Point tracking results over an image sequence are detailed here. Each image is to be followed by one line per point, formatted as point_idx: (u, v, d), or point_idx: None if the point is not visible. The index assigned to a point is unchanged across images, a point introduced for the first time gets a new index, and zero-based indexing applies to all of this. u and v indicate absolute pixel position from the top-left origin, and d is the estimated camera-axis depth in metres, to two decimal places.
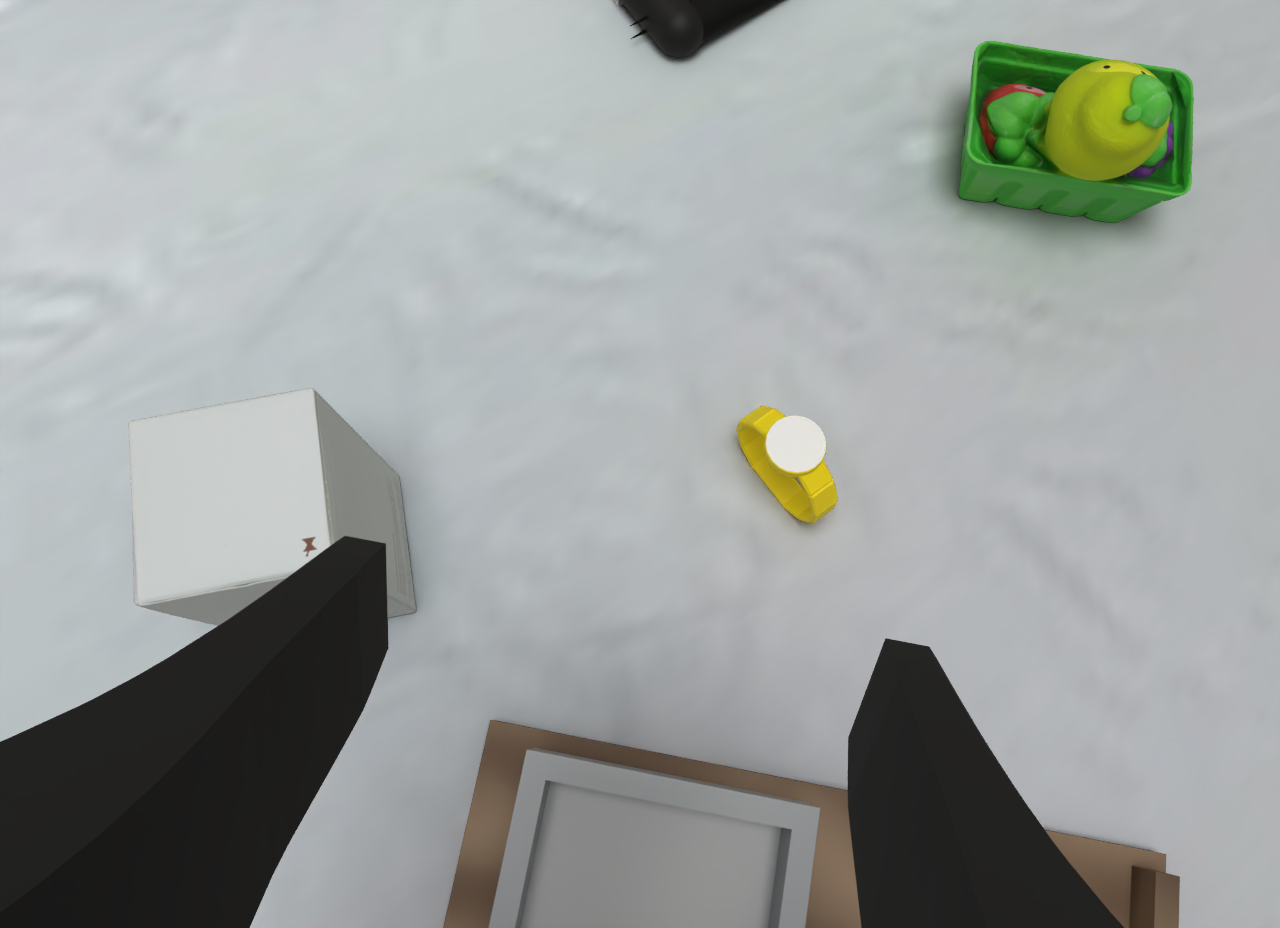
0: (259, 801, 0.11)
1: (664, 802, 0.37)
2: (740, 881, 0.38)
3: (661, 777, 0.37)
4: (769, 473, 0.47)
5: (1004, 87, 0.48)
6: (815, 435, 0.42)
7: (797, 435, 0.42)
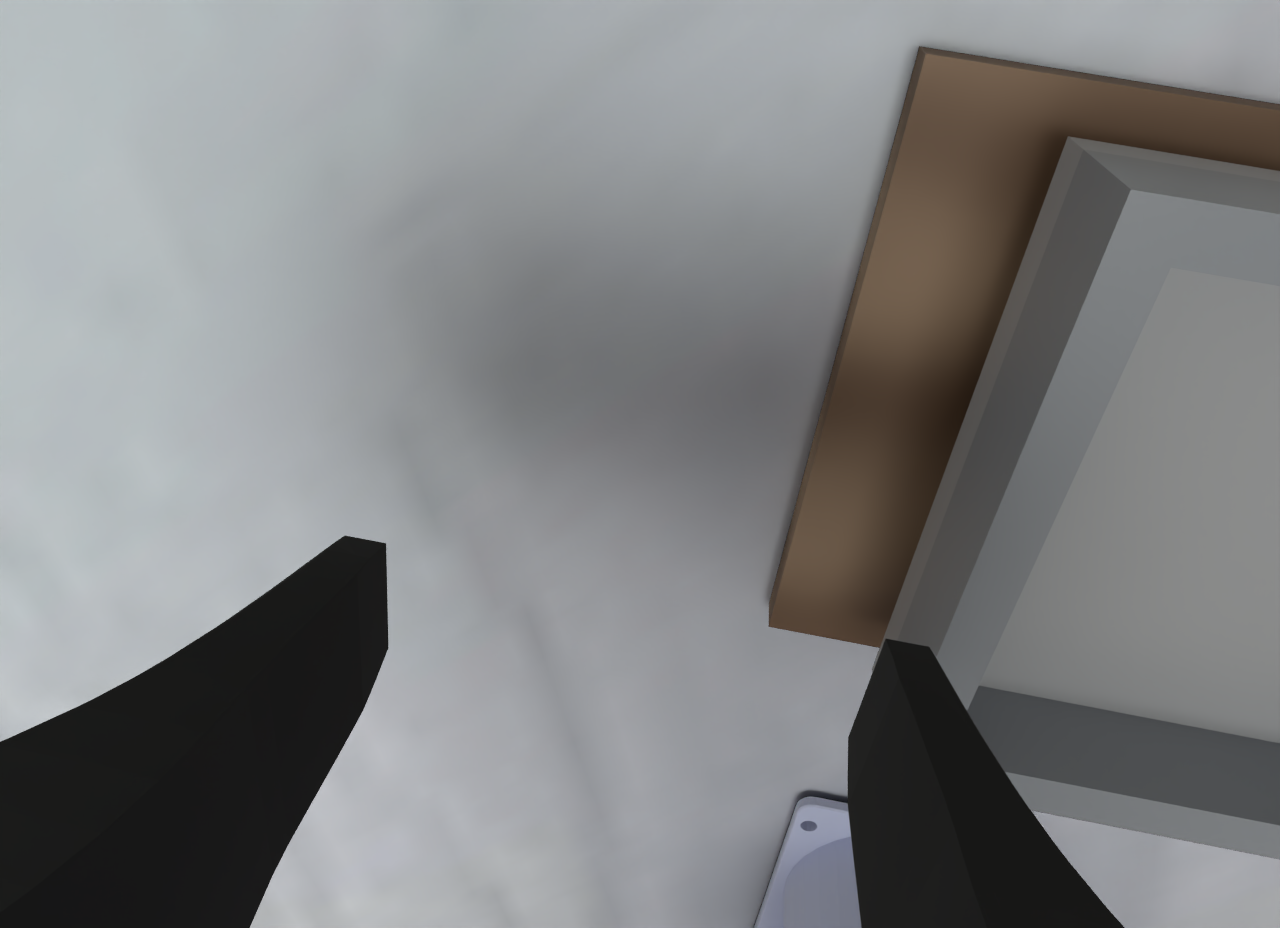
0: (259, 801, 0.11)
1: None
2: None
3: None
4: None
5: None
6: None
7: None
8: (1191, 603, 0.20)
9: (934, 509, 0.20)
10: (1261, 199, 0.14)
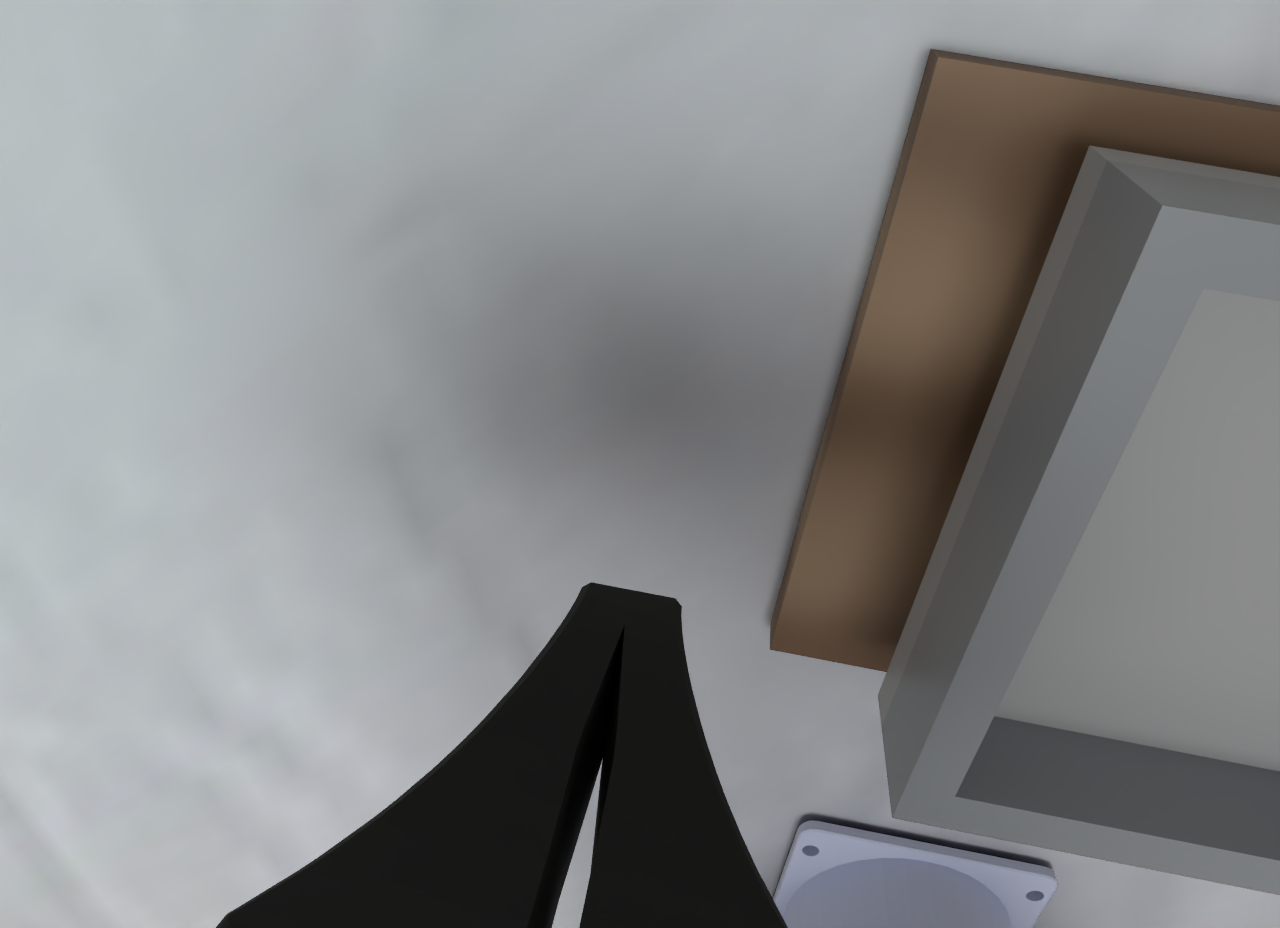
0: (559, 862, 0.10)
1: None
2: None
3: None
4: None
5: None
6: None
7: None
8: (1213, 632, 0.19)
9: (944, 533, 0.19)
10: None
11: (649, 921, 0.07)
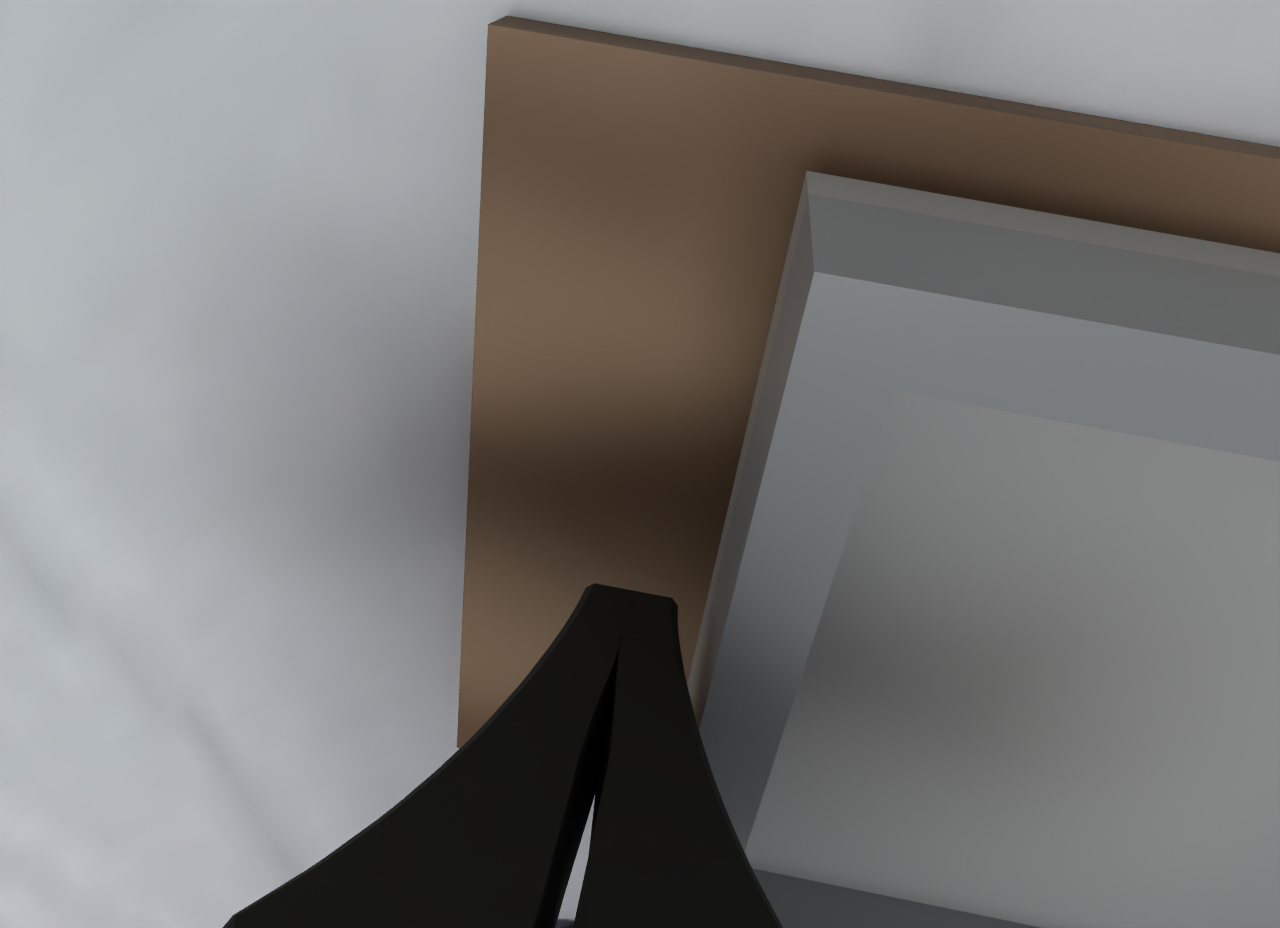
0: (563, 863, 0.10)
1: None
2: None
3: None
4: None
5: None
6: None
7: None
8: (1030, 789, 0.15)
9: (694, 656, 0.15)
10: (1040, 282, 0.09)
11: (643, 920, 0.07)
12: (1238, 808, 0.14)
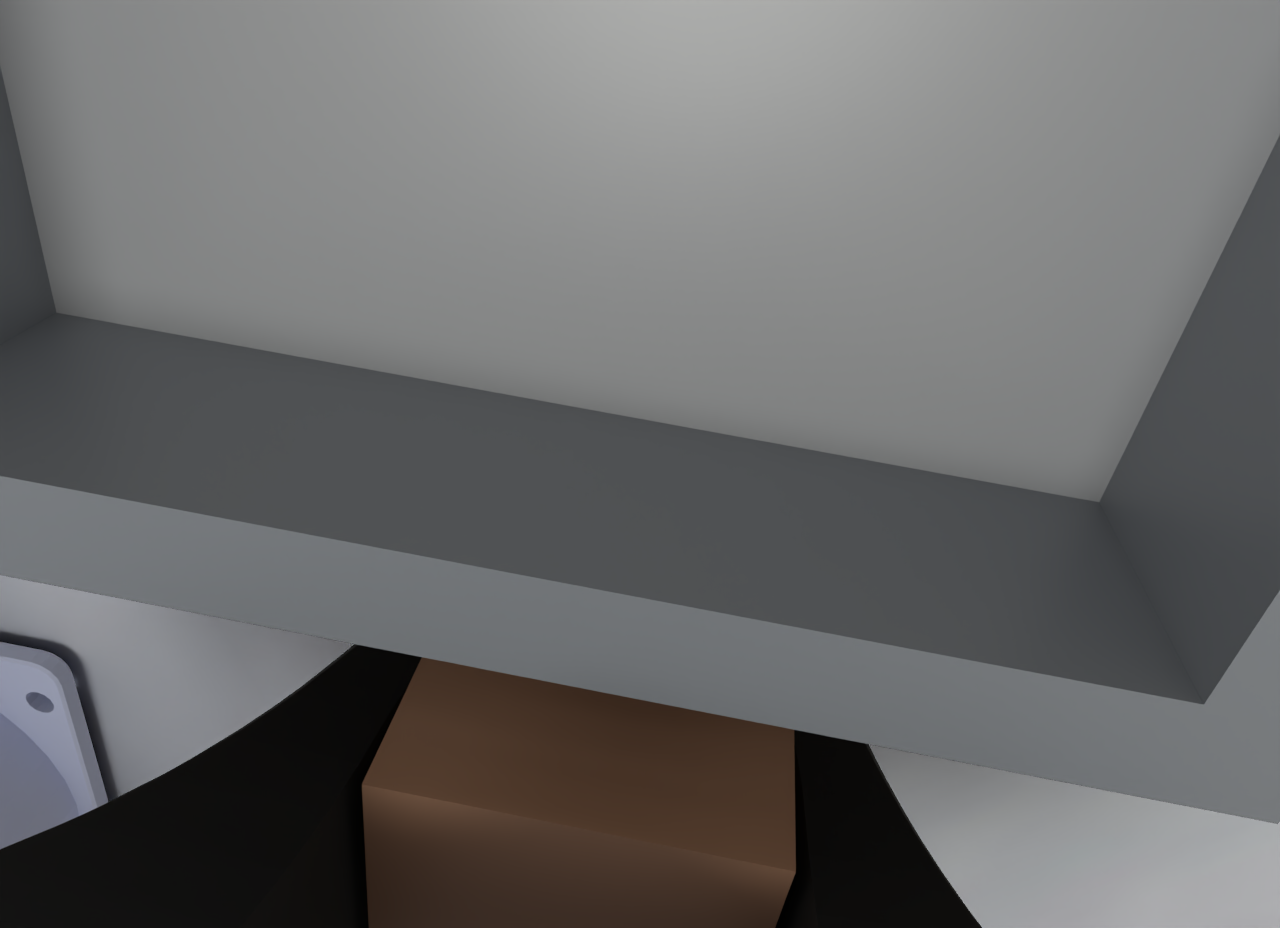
0: None
1: None
2: None
3: None
4: None
5: None
6: None
7: None
8: None
9: None
10: None
11: None
12: None
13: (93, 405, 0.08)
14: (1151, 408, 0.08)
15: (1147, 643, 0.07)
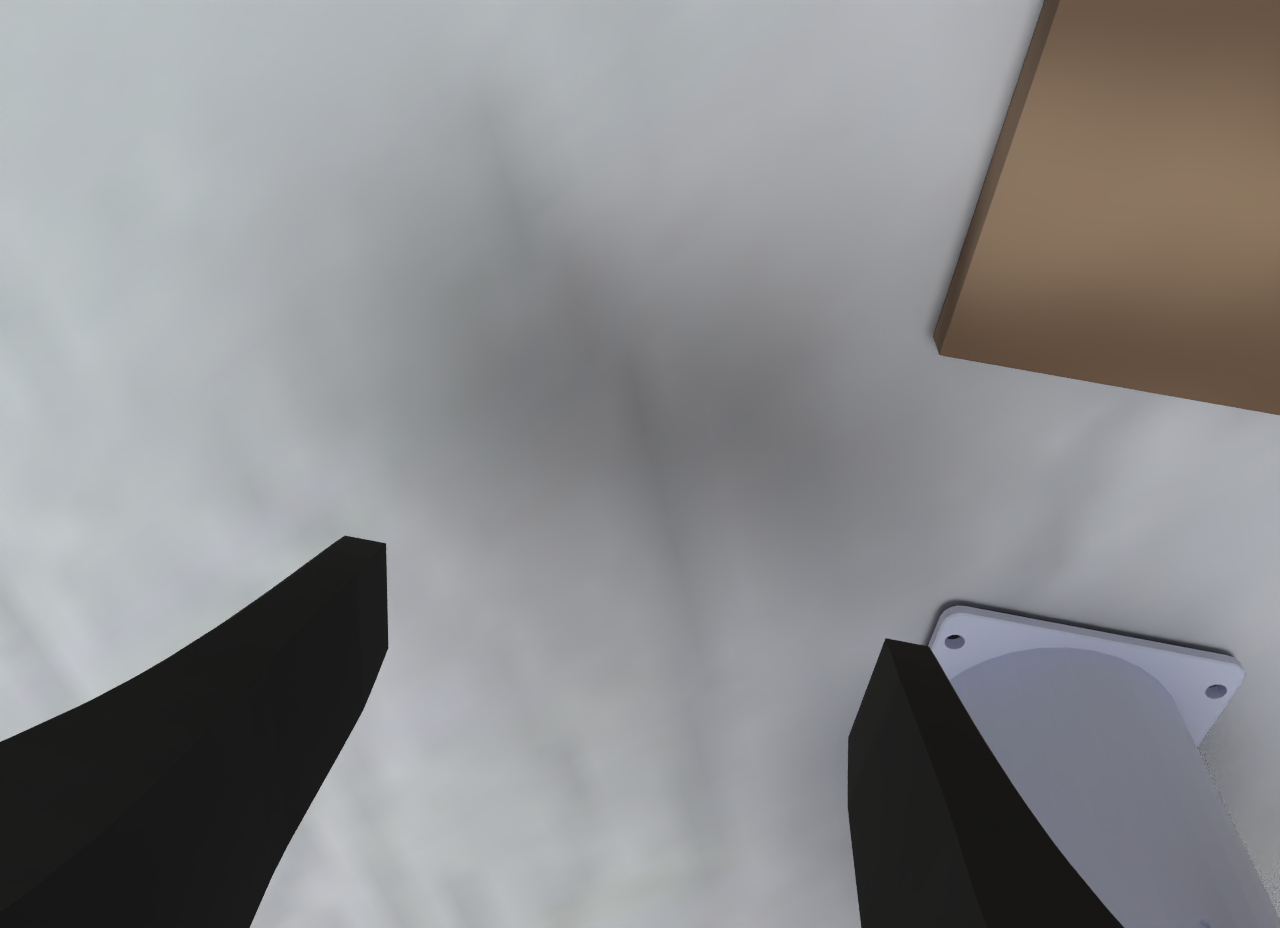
0: (259, 801, 0.11)
1: None
2: None
3: None
4: None
5: None
6: None
7: None
8: None
9: None
10: None
11: None
12: None
13: None
14: None
15: None
